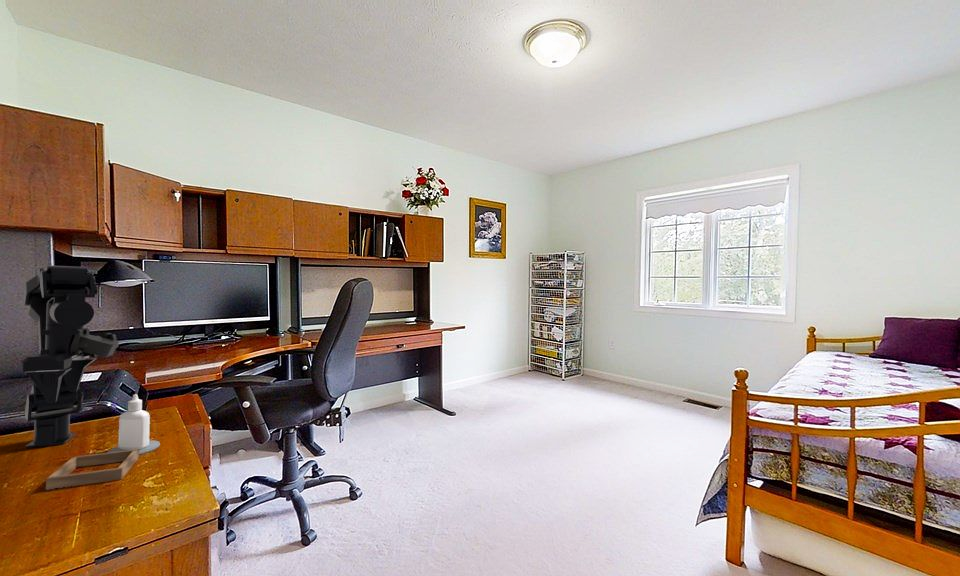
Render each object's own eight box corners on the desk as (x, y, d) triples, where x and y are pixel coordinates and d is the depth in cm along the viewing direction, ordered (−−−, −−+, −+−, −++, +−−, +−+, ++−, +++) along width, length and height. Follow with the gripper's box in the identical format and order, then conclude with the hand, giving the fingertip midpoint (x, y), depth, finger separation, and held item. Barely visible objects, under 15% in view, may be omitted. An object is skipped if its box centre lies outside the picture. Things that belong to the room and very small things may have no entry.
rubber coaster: (116, 445, 93) (116, 443, 93) (164, 439, 97) (164, 438, 97) (100, 460, 85) (100, 458, 85) (153, 453, 89) (153, 451, 89)
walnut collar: (73, 466, 82) (73, 456, 82) (138, 458, 87) (139, 448, 87) (45, 490, 73) (46, 479, 73) (121, 479, 77) (121, 468, 77)
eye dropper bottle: (127, 453, 88) (128, 398, 88) (116, 448, 91) (117, 395, 91) (151, 447, 92) (152, 394, 92) (139, 441, 95) (141, 391, 95)
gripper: (96, 327, 82) (94, 404, 82) (128, 320, 98) (126, 384, 98) (20, 328, 77) (17, 410, 77) (67, 320, 94) (65, 388, 93)
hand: (63, 396), depth 86 cm, fingers open, 9 cm apart
